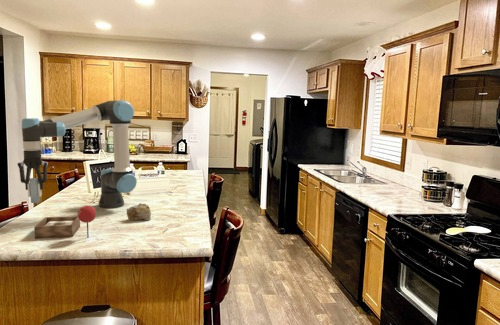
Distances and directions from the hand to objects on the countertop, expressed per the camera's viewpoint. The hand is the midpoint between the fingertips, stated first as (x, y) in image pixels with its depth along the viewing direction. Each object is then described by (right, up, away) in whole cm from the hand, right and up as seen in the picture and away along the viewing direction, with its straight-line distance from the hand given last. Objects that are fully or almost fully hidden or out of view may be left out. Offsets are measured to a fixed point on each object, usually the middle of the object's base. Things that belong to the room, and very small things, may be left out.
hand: (35, 196), depth 191 cm
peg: (0, -3, 0) cm, 3 cm away
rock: (+47, -15, +18) cm, 52 cm away
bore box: (+16, -17, -8) cm, 24 cm away
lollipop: (+33, -18, -14) cm, 40 cm away
